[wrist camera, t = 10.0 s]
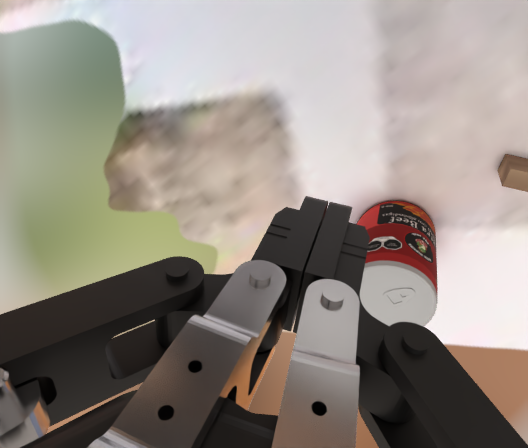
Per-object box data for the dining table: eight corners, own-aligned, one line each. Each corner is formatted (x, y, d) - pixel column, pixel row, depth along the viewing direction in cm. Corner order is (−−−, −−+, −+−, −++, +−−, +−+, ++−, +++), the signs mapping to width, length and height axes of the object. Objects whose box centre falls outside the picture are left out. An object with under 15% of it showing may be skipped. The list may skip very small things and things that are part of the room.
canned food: (453, 230, 42) (459, 306, 33) (395, 273, 47) (388, 350, 38) (392, 182, 41) (383, 247, 32) (340, 232, 46) (320, 299, 37)
